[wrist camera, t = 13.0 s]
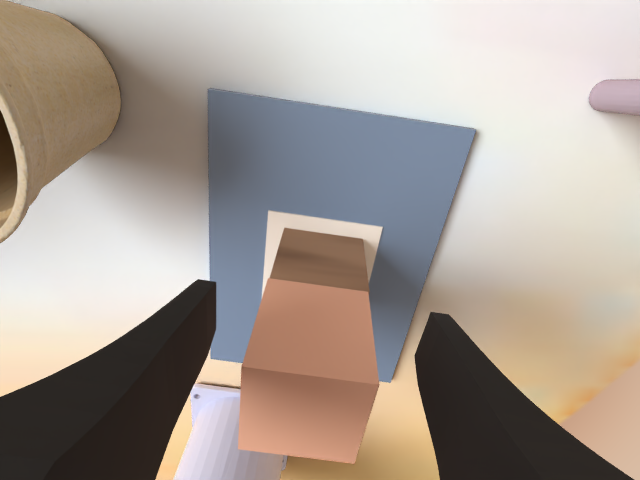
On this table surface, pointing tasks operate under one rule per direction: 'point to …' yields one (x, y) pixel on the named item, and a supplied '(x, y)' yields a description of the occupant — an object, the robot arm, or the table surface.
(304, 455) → the terracotta block
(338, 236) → the walnut block
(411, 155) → the board
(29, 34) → the flower pot
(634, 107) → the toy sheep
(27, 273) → the table surface
